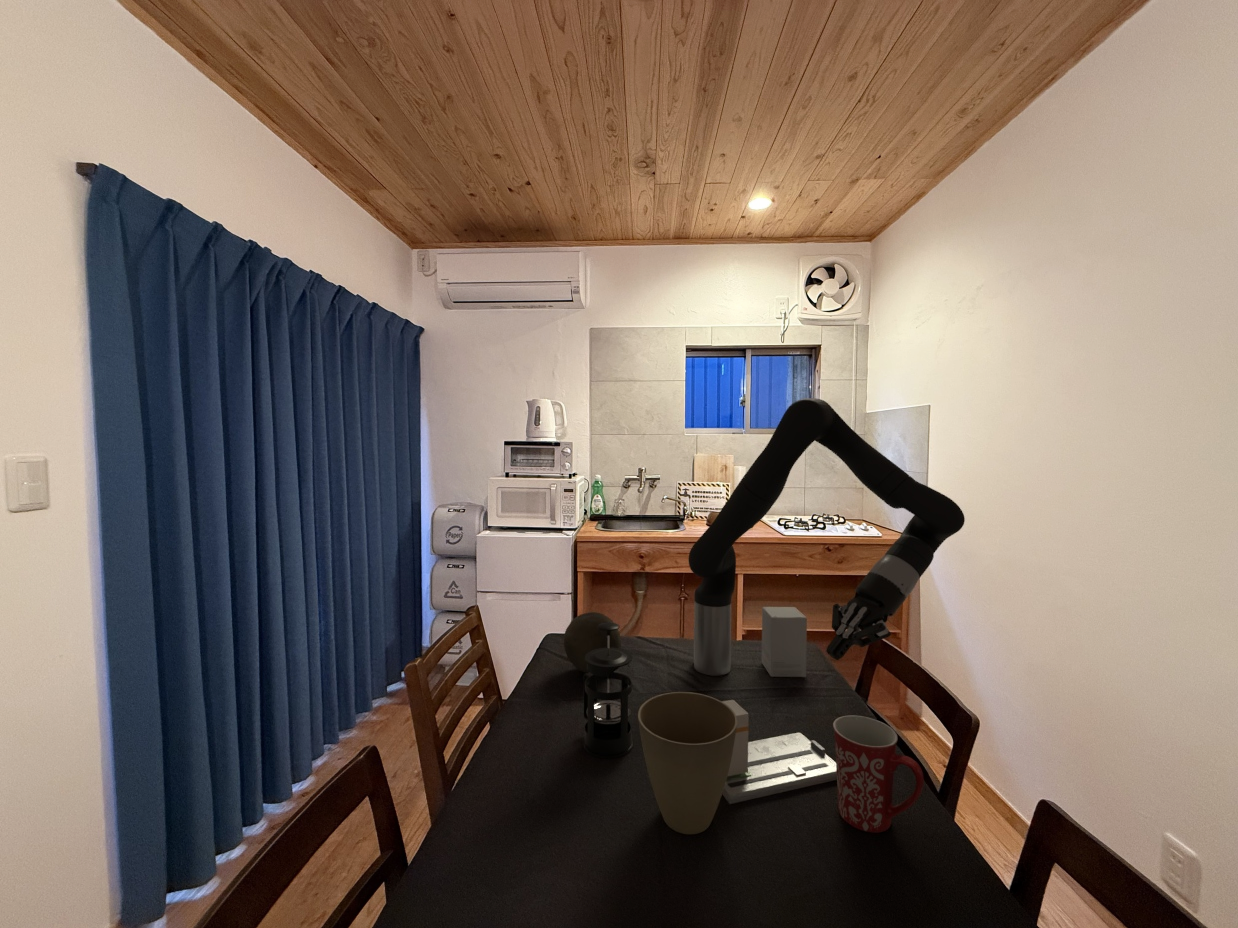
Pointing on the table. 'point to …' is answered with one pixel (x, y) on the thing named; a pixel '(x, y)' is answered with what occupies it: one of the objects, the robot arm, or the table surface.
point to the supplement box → (784, 641)
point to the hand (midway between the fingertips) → (831, 655)
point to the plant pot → (687, 755)
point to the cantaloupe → (587, 638)
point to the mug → (869, 772)
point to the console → (780, 768)
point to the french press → (607, 700)
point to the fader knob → (739, 740)
